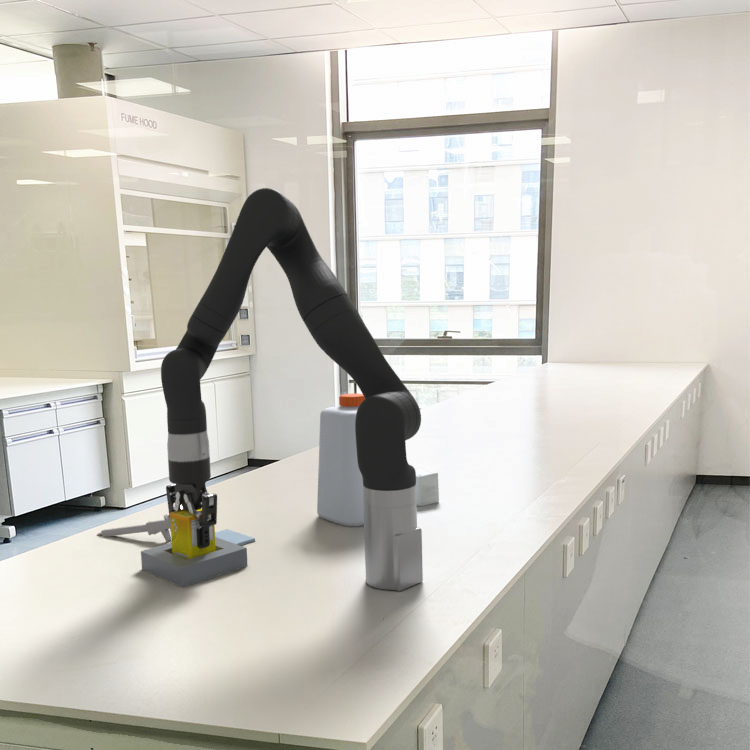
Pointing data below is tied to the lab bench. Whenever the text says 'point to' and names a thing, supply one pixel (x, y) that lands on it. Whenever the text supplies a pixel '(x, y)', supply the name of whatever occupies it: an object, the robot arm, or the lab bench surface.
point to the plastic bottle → (340, 464)
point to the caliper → (143, 529)
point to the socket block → (193, 563)
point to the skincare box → (426, 487)
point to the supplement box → (188, 535)
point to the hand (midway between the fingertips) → (193, 543)
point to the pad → (234, 537)
